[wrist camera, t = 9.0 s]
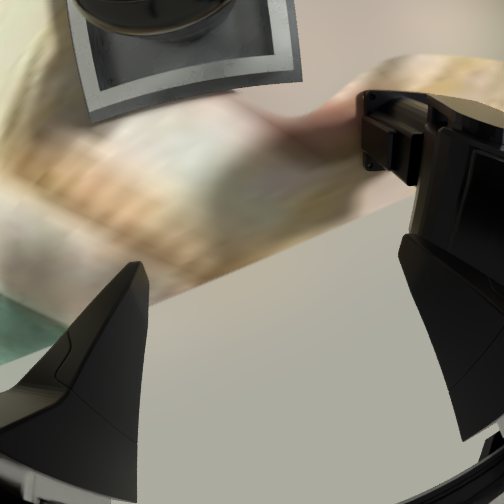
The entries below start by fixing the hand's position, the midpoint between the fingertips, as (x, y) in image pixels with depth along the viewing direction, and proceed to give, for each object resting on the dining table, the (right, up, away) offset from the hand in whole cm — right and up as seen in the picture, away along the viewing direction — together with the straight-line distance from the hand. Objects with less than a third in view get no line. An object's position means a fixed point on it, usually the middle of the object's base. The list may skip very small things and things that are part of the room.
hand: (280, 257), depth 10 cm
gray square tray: (-6, +16, +3) cm, 17 cm away
